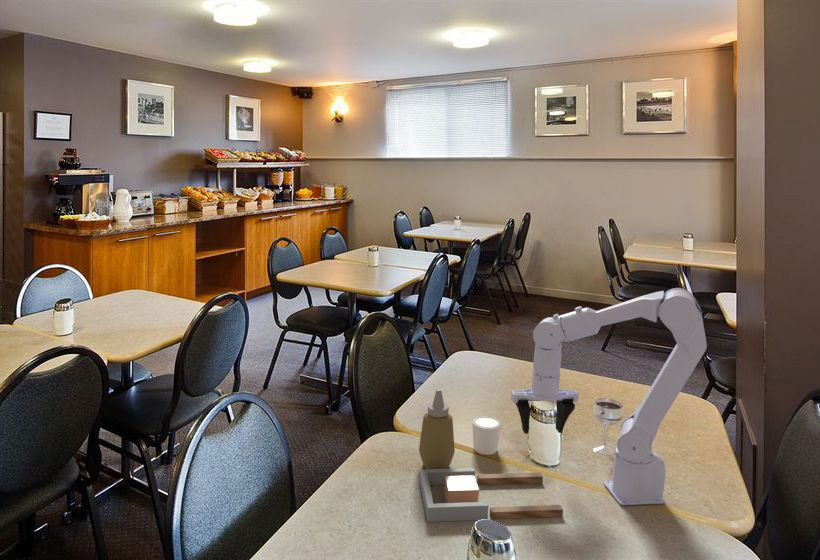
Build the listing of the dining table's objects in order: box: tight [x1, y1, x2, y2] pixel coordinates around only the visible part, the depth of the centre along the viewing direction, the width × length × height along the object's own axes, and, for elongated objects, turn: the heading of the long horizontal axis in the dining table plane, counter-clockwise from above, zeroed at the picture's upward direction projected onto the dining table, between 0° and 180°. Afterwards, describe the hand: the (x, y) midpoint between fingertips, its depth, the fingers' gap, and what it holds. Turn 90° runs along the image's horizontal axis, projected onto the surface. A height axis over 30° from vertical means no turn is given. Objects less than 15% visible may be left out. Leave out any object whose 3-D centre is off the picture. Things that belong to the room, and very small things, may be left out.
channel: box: [476, 472, 564, 520], centre depth 106 cm, size 14×13×2 cm
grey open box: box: [419, 467, 489, 523], centre depth 105 cm, size 12×13×3 cm
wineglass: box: [592, 397, 624, 456], centre depth 125 cm, size 7×7×12 cm
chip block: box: [443, 475, 480, 503], centre depth 105 cm, size 6×5×4 cm
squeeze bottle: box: [418, 389, 455, 469], centre depth 116 cm, size 8×8×18 cm
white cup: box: [471, 415, 502, 456], centre depth 125 cm, size 7×7×7 cm
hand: (542, 431), depth 115 cm, fingers open, 7 cm apart
